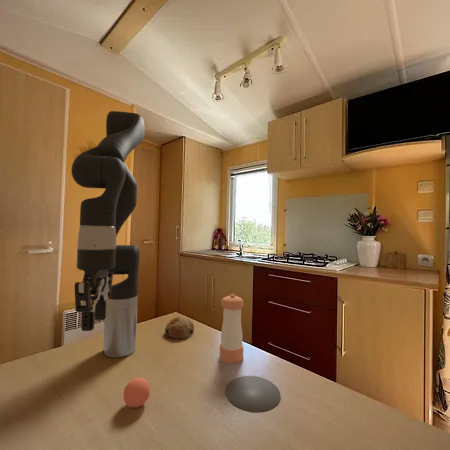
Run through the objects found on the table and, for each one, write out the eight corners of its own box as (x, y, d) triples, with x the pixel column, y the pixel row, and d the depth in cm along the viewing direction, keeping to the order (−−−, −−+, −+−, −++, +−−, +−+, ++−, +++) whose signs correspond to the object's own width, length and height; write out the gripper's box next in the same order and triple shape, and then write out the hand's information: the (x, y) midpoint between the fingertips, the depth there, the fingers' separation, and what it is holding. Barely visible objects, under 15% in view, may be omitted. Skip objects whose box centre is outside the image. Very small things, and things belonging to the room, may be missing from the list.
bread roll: (182, 351, 88) (192, 331, 87) (158, 335, 90) (167, 315, 89) (192, 339, 97) (201, 321, 97) (169, 325, 99) (178, 307, 99)
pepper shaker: (231, 349, 82) (232, 290, 82) (248, 357, 76) (249, 294, 77) (214, 356, 76) (215, 293, 77) (231, 366, 71) (233, 298, 72)
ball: (117, 406, 54) (118, 380, 54) (139, 393, 59) (140, 369, 59) (133, 418, 51) (134, 390, 51) (154, 403, 55) (155, 377, 56)
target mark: (214, 395, 58) (214, 394, 58) (243, 371, 69) (243, 370, 69) (265, 420, 51) (265, 419, 51) (288, 388, 62) (288, 388, 62)
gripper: (101, 249, 48) (98, 338, 48) (125, 245, 62) (122, 313, 62) (60, 248, 47) (57, 338, 47) (93, 244, 62) (91, 313, 61)
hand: (94, 324), depth 54 cm, fingers open, 5 cm apart
